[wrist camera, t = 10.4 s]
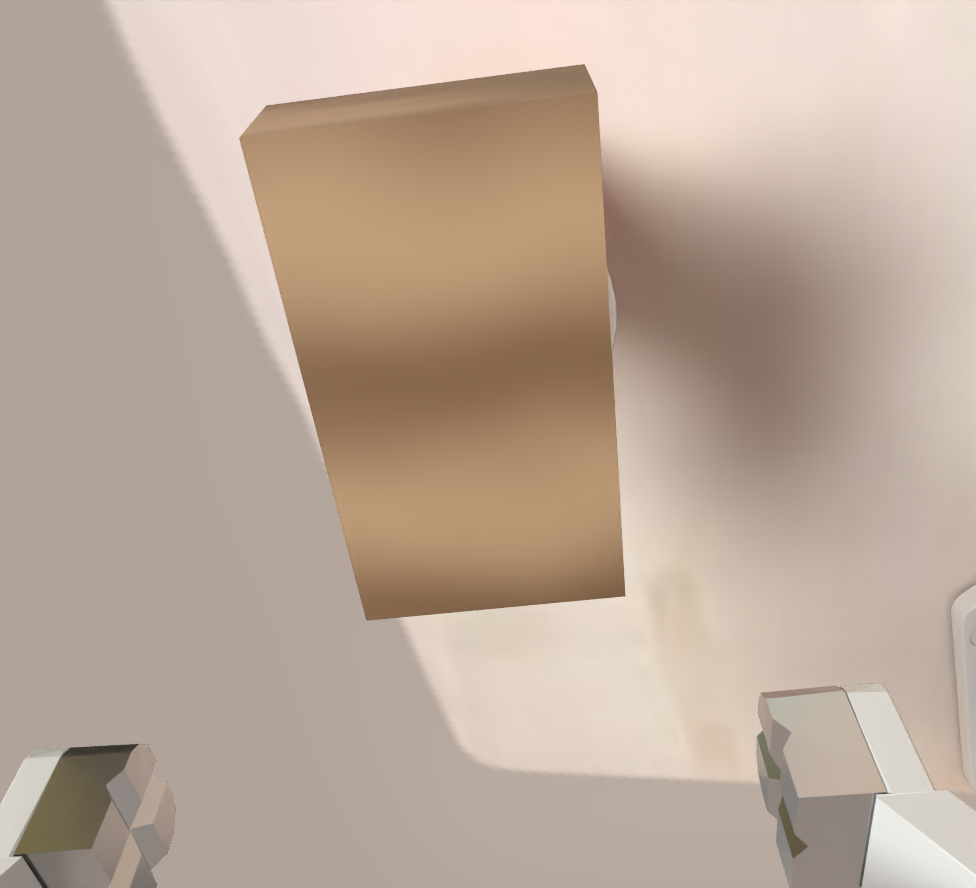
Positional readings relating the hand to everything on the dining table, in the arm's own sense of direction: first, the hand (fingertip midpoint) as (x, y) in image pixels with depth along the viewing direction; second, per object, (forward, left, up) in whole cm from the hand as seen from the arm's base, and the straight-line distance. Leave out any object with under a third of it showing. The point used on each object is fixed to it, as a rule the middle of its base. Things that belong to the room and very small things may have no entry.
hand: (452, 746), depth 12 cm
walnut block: (0, 0, -12) cm, 12 cm away
